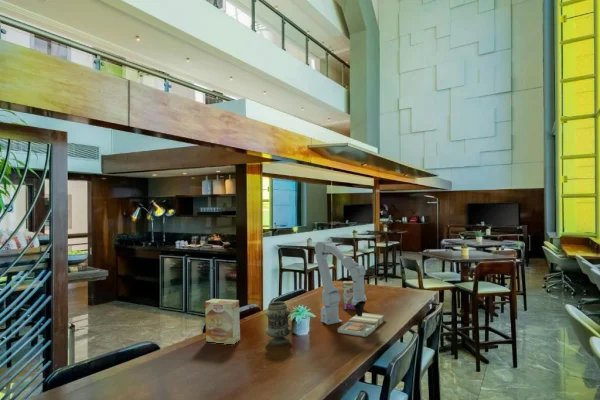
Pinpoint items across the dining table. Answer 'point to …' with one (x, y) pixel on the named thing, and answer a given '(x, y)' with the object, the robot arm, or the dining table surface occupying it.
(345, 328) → the box
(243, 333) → the dining table surface
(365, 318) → the plate
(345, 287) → the candy bar box
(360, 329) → the front tile
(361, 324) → the back tile
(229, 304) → the coffeecake box
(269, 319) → the carved stone vase
